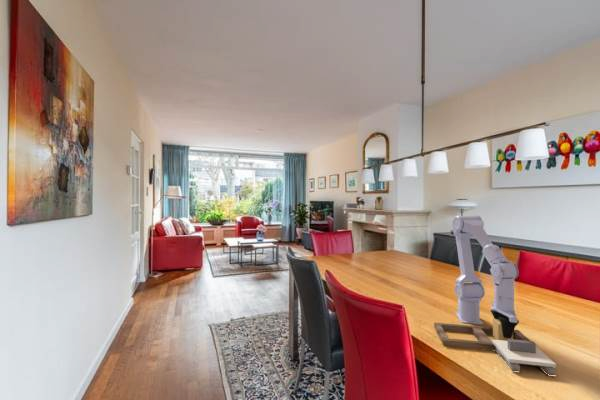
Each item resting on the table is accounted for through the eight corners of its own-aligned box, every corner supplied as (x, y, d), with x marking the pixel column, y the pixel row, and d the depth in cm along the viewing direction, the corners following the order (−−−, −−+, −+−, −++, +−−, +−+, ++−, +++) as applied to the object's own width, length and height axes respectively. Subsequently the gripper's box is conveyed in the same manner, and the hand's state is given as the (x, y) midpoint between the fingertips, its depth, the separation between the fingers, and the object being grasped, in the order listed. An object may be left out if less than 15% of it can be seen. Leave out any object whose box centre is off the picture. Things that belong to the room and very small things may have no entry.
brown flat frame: (434, 327, 114) (434, 322, 114) (518, 335, 107) (518, 329, 107) (453, 365, 89) (453, 358, 89) (564, 378, 82) (564, 371, 82)
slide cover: (492, 342, 98) (492, 330, 98) (532, 346, 95) (532, 334, 95) (508, 362, 86) (508, 349, 86) (555, 367, 83) (556, 353, 83)
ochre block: (492, 335, 105) (492, 318, 105) (506, 336, 104) (506, 319, 104) (498, 341, 101) (498, 324, 101) (513, 342, 100) (512, 325, 100)
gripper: (483, 289, 110) (483, 324, 110) (500, 302, 96) (500, 343, 96) (504, 290, 108) (504, 325, 109) (524, 304, 94) (524, 345, 94)
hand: (504, 334), depth 102 cm, fingers closed on ochre block, 4 cm apart
